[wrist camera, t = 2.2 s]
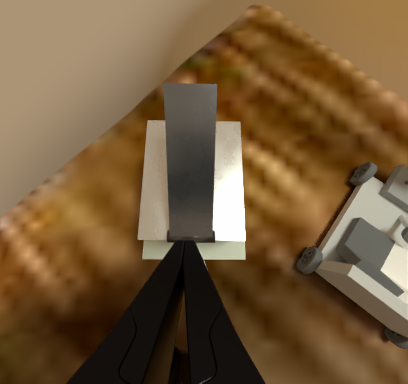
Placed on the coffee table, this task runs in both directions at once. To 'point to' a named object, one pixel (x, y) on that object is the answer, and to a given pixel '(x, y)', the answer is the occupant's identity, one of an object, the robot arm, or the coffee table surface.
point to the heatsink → (223, 184)
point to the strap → (190, 160)
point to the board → (207, 250)
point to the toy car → (370, 249)
